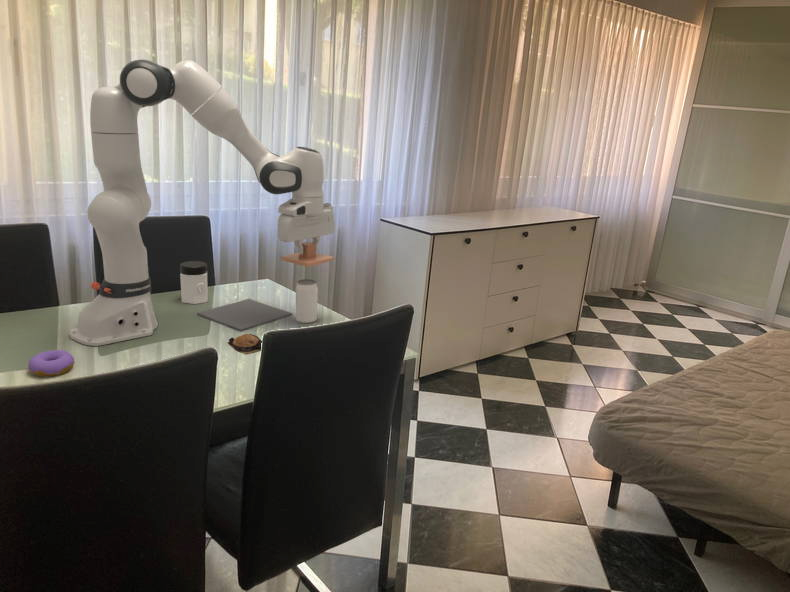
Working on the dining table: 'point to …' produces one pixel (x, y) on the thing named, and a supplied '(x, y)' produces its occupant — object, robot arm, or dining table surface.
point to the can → (306, 301)
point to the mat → (244, 314)
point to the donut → (51, 363)
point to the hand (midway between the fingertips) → (307, 252)
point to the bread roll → (246, 343)
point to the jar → (194, 282)
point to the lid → (307, 256)
